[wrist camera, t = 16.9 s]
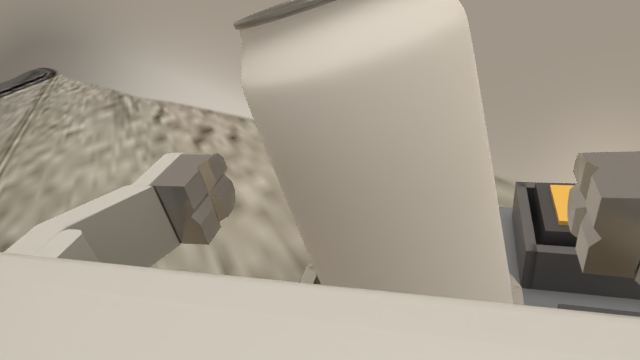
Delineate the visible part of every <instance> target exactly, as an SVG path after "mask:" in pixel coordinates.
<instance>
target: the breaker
mask: <svg viewBox="0 0 640 360" xmlns="http://www.w3.org/2000/svg"><path fill="white" fill-rule="evenodd" d="M574 185H575V184H560V183H535V190H534V197H533V203H532V210H531V217H532V223H533V229H534V234H535V240H536V245H551V246H566V247H576V243H577V237H575V236H574V235H573V234H571V232H570V228H569V225H568V217H567V205H568V197H569V190H570V188H572V187H573V186H574Z"/></svg>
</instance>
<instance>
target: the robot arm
mask: <svg viewBox="0 0 640 360" xmlns="http://www.w3.org/2000/svg"><path fill="white" fill-rule="evenodd" d="M226 170H227V166H226V163H225V161H224V158H223V157H222V156H221V155H219V154H218V153H168V154H165V155H163V156H162V157H161V158H160V159H159V160H158V161H157V162H156V163H155V164H154V165H153V166H152V167H150V168H149V169H148V170H147V171H146V172H145V173H144V174H143V175H142V176H141V177H140V178H139V179H138V180H136V181H135V182H134V183H133V184H132V185H131V186H128V185H126V186H124V187H122V188H119V189H117V190H115V191H113V192H110V193H108V194H106V195H104V196H101V197H99V198H97V199H95V200H92V201H90V202H88V203H86V204H83V205H81V206H79V207H77V208H74V209H72V210H70V211H68V212H65V213H63V214H61V215H59V216H56V217H54V218H52V219H49V220H47V221H45V222H43V223H40V224H38V225H36V226H35V227H34V228H32V229H31V230H30V231H29V232H28V233H26V234H25V235H24V236H23V237H21V238H20V239H19V240H18V241H17V242H15V243H14V244H13V245H12V246H11V247H9V248H8V249H7V250H6V251H4V252H0V360H640V317H636V316H626V315H616V314H606V313H596V312H586V311H576V310H567V309H557V308H547V307H537V306H527V305H517V304H507V303H497V302H487V301H478V300H468V299H458V298H448V297H438V296H428V295H418V294H408V293H398V292H388V291H379V290H369V289H359V288H349V287H339V286H329V285H319V284H309V283H299V282H289V281H279V280H270V279H260V278H250V277H240V276H230V275H220V274H210V273H201V272H191V271H181V270H171V269H161V268H151V267H150V266H152V265H153V264H154V263H156V262H157V261H159V260H160V259H161V258H163V257H164V256H165V255H167V254H168V253H170V252H171V251H172V250H174V249H175V248H176V247H178V246H179V245H180V243H184V244H206V245H209V243H210V242H211V241H212V239H213V238H214V236H215V235H216V233H217V232H218V230H219V229H220V228H221V226H220V222H219V221H221V220H223V219H224V218H226V217H228V216H229V214H230V213H231V211H232V210H233V207H234V203H235V189H234V186H233V183H232V181H231V180H230V179H228V178H227V177H226V176H225V172H226ZM573 172H574V175H575V178H576V181H577V183H576V184H575V185H574V186H573V187H572V188H570V190H569V197H568V205H567V217H568V225H569V228H570V232H571V234H573V235H574V236H575V237H577V243H576V248H575V249H576V253H577V256H578V259H579V263H580V266H581V269H582V272H583V273H586V274H597V275H607V276H617V277H627V278H635V281H636V282H637V283H638V284H639V285H640V152H600V153H599V152H598V153H578V155H577V158H576V161H575V165H574V170H573Z"/></svg>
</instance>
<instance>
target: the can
mask: <svg viewBox="0 0 640 360" xmlns="http://www.w3.org/2000/svg"><path fill="white" fill-rule="evenodd" d="M233 26H234V28H235V29H238V30H239V31H240V35H241V39H242V65H241V83H242V88H243V91H244V94H245V97H246V100H247V102H248V105H249V108H250V110H251V113H252V116H253V118H254V121H255V123H256V126H257V128H258V131H259V133H260V136H261V138H262V141H263V143H264V146H265V148H266V151H267V153H268V156H269V158H270V161H271V163H272V166H273V168H274V171H275V173H276V175H277V178H278V180H279V183H280V185H281V188H282V190H283V193H284V195H285V198H286V200H287V203H288V205H289V208H290V210H291V212H292V215H293V217H294V220H295V222H296V225H297V227H298V230H299V232H300V235H301V237H302V239H303V242H304V244H305V247H306V249H307V252H308V254H309V257H310V259H311V261H312V264H313V266H314V269H315V271H316V274H317V276H318V279H319V281H320V283H321V285H329V286H339V287H349V288H359V289H369V290H379V291H388V292H398V293H408V294H418V295H428V296H438V297H448V298H458V299H468V300H478V301H487V302H497V303H507V304H513V299H512V291H511V284H510V277H509V270H508V264H507V257H506V251H505V244H504V238H503V231H502V225H501V218H500V212H499V206H498V199H497V193H496V187H495V180H494V174H493V168H492V162H491V156H490V149H489V143H488V137H487V130H486V124H485V118H484V112H483V106H482V100H481V93H480V87H479V81H478V75H477V69H476V64H475V57H474V51H473V45H472V40H471V35H470V30H469V24H468V20H467V16H466V13H465V10H464V8H463V6H462V5H461V3H460V2H459V0H289V1H287V2H284V3H281V4H279V5H276V6H273V7H271V8H268V9H265V10H263V11H260V12H258V13H255V14H253V15H250V16H248V17H245V18H243V19H241V20H238V21H236V22H235V23H234V24H233Z"/></svg>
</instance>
